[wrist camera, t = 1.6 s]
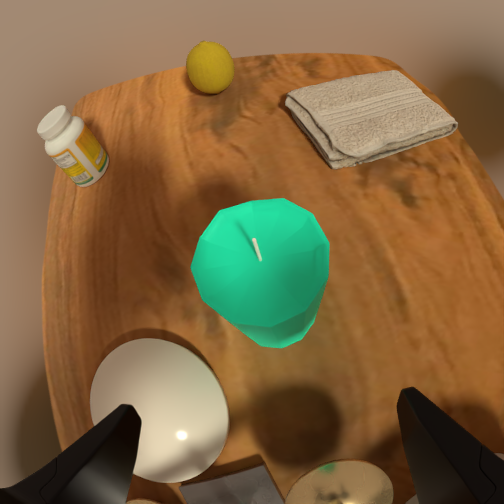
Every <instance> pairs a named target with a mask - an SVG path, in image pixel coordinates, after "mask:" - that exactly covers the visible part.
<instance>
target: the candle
mask: <svg viewBox="0 0 504 504" xmlns="http://www.w3.org/2000/svg"><path fill="white" fill-rule="evenodd" d="M190 268H191V271H192V273H193V276H194V279H195V282H196V284H197V287H198V290H199V293H200V295H201V298H202V300H203V301H204V302H205V303H206V304H208V305H209V306H210V307H211V308H212V309H214V310H215V311H216V312H217V313H219V314H220V315H221V316H222V317H224V318H225V319H226V320H227V321H229V322H230V323H231V324H232V325H234V326H235V327H236V328H237V329H239V330H240V331H241V332H243V333H244V334H245V335H246V336H248V337H249V338H251V339H252V340H253V341H255V342H256V343H257V344H259V345H260V346H264V347H273V348H284V347H286V346H288V345H291V344H293V343H295V342H297V341H300V340H302V338H303V337H304V336H305V334H306V333H307V331H308V330H309V329H310V327H311V326H312V324H313V323H314V320H315V318H316V314H317V311H318V308H319V305H320V302H321V299H322V296H323V293H324V290H325V286H326V283H327V280H328V275H329V241H328V240H327V238H326V236H325V234H324V233H323V231H322V229H321V227H320V226H319V224H318V222H317V220H316V219H315V217H314V215H313V214H312V213H311V212H309V211H307V210H305V209H303V208H301V207H299V206H297V205H296V204H294V203H292V202H290V201H288V200H286V199H284V198H280V199H268V200H256V201H249V202H246V203H242V204H239V205H236V206H232V207H229V208H226V209H222V210H219V212H218V213H217V214H216V216H215V217H214V219H213V220H212V221H211V223H210V224H209V226H208V227H207V228H206V230H205V231H204V232H203V234H202V235H201V237H200V238H199V241H198V244H197V248H196V251H195V254H194V257H193V260H192V264H191V267H190Z"/></svg>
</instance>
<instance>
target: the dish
mask: <svg viewBox="0 0 504 504" xmlns="http://www.w3.org/2000/svg"><path fill="white" fill-rule="evenodd" d="M121 404H130V405H133V406H134V408H135V409H136V411H137V413H138V414H139V416H140V417H141V420H142V426H141V433H140V439H139V446H138V453H137V459H136V463H135V467H134V471H133V473H134V474H135V475H137V476H140V477H142V478H144V479H148V480H151V481H155V482H162V483H174V482H181V481H185V480H188V479H191V478H193V477H195V476H197V475H199V474H200V473H202V472H204V471H205V470H206V469H207V468H208V467H209V466H210V465H211V464H212V463H214V462H215V460H216V459H217V458H218V456H219V455H220V454H221V452H222V450H223V448H224V446H225V444H226V441H227V438H228V434H229V428H230V413H229V406H228V401H227V398H226V395H225V392H224V389H223V387H222V385H221V383H220V381H219V379H218V378H217V376H216V375H215V373H214V372H213V371H212V369H211V368H210V367H209V366H208V365H207V364H206V363H205V362H204V361H203V360H202V359H201V358H200V357H199V356H197V355H196V354H195V353H193V352H192V351H190V350H188V349H186V348H185V347H183V346H180V345H178V344H175V343H172V342H169V341H165V340H161V339H153V338H143V339H137V340H133V341H130V342H126V343H124V344H122V345H120V346H119V347H117V348H116V349H114V350H113V351H112V352H111V353H110V354H109V355H107V356H106V358H105V359H104V360H103V361H102V363H101V364H100V366H99V368H98V369H97V372H96V374H95V376H94V379H93V382H92V387H91V393H90V410H91V416H92V420H93V424H94V426H95V425H96V424H98V423H99V422H100V421H101V420H102V419H104V418H105V417H106V416H107V415H108V414H110V413H111V412H112V411H113V410H114V409H116V408H117V407H118V406H119V405H121Z"/></svg>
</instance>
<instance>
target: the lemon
mask: <svg viewBox="0 0 504 504" xmlns="http://www.w3.org/2000/svg"><path fill="white" fill-rule="evenodd" d="M186 68H187V74H188V76H189V79H190V81H191V83H192V84H193V85H194V87H196V88H197V89H198V90H199V91H201V92H204V93H208V94H214V93H215V94H219V93H220V92H221V91H223V90H225V89H226V88H227V87H228V86H229V85H230V84H231V82H232V80H233V77H234V63H233V60H232V58H231V56H230V54H229V52H228V51H227V50H226V48H225V47H223V46H222V45H220V44H218V43H215V42H206V41H202V42H200V43H199V44H198V45H196V46H195V47H194V48H193V49H192V50H191V51H190V53H189V54H188V57H187V61H186Z"/></svg>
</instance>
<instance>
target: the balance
mask: <svg viewBox="0 0 504 504" xmlns="http://www.w3.org/2000/svg"><path fill="white" fill-rule="evenodd" d="M179 489H180V491H181V493H182V495H183V497H184V498H185V500H186V502H187V504H392V501H393V486H392V483H391V481H390V479H389V477H388V476H387V475H386V474H385V473H384V471H383V470H381V469H380V468H379V467H378V466H376V465H375V464H373V463H370V462H368V461H364V460H360V459H338V460H333V461H329V462H326V463H323V464H320V465H318V466H316V467H314V468H312V469H311V470H309V471H307V472H306V473H305V474H303V475H302V476H301V477H300V478H299V479H298V480H297V481H296V482H295V483H294V484H293V485H292V487H291V489H290V490H289V492H288V494H287V497H286V500H285V499H284V498H283V496H282V494H281V492H280V490H279V488H278V487H277V485H276V483H275V481H274V479H273V477H272V475H271V473H270V471H269V469H268V467H267V465H266V463H265V462H263V463H260V464H257V465H254V466H251V467H248V468H245V469H242V470H238V471H235V472H231V473H228V474H224V475H220V476H217V477H213V478H208V479H204V480H200V481H195V482H191V483H186V484H182V485H181V486H179ZM126 504H162V503H160V502H157V501H154V500H151V499H146V498H136V499H132V500H130V501H128V502H126Z"/></svg>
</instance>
